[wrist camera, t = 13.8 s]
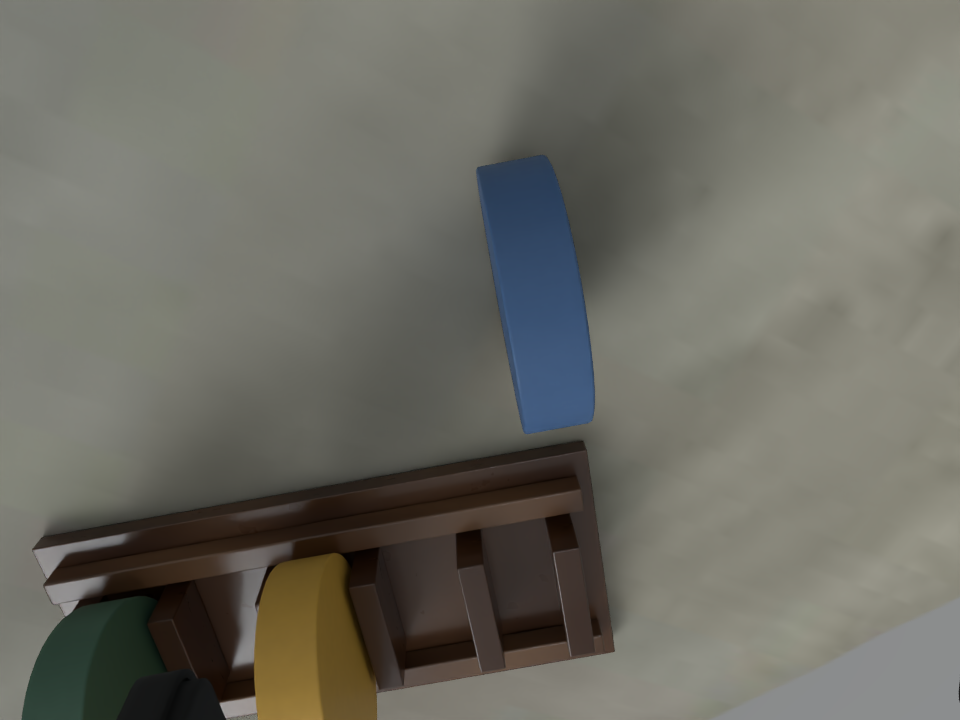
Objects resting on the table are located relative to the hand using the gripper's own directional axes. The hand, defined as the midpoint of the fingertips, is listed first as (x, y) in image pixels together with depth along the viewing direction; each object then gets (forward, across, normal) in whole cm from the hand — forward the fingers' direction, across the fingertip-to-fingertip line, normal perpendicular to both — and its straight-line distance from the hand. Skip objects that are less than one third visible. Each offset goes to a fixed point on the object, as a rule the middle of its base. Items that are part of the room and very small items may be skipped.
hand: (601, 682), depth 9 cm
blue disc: (+18, -1, 0) cm, 19 cm away
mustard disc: (+18, +8, +12) cm, 23 cm away
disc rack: (+19, +8, +12) cm, 24 cm away
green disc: (+18, +16, +12) cm, 27 cm away
